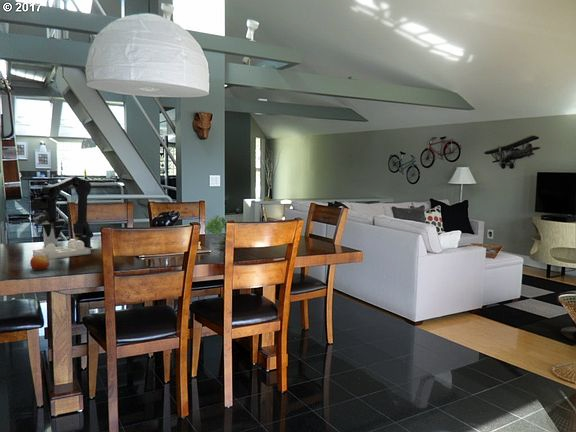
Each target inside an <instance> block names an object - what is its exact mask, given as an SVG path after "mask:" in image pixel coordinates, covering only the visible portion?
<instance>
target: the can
mask: <svg viewBox="0 0 576 432" xmlns="http://www.w3.org/2000/svg"><path fill="white" fill-rule="evenodd" d="M42 228H43V227H42ZM42 230H43V234H42V235H43V245H44V246H45V247H46V245H47V244H50V243H52V244H54V245H55V246H57V245H58V238H57V239H55V236H54V231H53V229H52V228H51V232H50V236H49V237H47V235H46V233H45V230H44V228H43V229H42Z"/></svg>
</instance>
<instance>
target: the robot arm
mask: <svg viewBox="0 0 576 432" xmlns="http://www.w3.org/2000/svg"><path fill="white" fill-rule="evenodd" d="M70 187H74V189H75V190H74V191H75V193H76V195H77V216H76V217H77V220H76V222H73V224H72V227H73V228H72V231H73V233H74V236H75V238H77V239H76V240H77V241H78V240H80V241H83V243H84V247H87V248H93V246H92V244H91V243H92V241H91V240H92V239H91V238H93V237H94V232H92V230H91V229H90V224H89V222H88V221H87V220H88V219H87V217H88V196H89V195H90V193H91V189H92V184H91V183H90V182H89V181H88V180H87V181H86V180H85V179H82V178H79V177H78V176H73V175H72V176H71V175H70V176H68V177H67V178H65V179H63V180H61V181H58V182H56V183H54V184H49V185H44V186H42V187H41V190H40V192H39V194H38V196H37V197H34V198H33V201H32V202H30V208H31V210H32V212H33V211H34V212H40V211H42V214H40V215H38V216H35V217H33V222H34V224H35V225H39V226H41V227H42V228H44V230H45V233H46V235H47V237H49V236H50V232H51V228H52V229H53V231H54V236H55V239H57V240H58V238H59V237H60V234H61V232H62V230H63V228H64V227H65V226H66V221H65V220H61V219H59V218H58V213H59V211H58V210H57V201H59V200H60V198H59V197H57V196H58V195H60V193H61V192H62V191H64V190H65V189H67V188H70Z"/></svg>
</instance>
